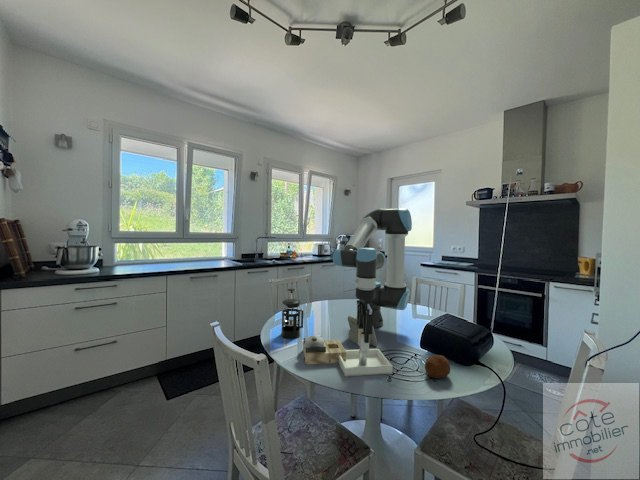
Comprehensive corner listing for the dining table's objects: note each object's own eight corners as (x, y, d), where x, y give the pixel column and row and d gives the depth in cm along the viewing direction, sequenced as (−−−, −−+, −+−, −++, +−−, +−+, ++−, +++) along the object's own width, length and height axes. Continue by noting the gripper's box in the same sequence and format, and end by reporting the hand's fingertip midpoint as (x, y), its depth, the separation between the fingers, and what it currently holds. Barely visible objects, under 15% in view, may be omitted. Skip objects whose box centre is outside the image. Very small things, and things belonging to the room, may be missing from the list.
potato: (418, 376, 96) (419, 356, 96) (431, 366, 104) (432, 347, 104) (442, 386, 90) (444, 365, 90) (454, 374, 98) (455, 355, 98)
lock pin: (365, 361, 105) (366, 331, 104) (367, 365, 102) (368, 334, 101) (357, 361, 104) (359, 331, 104) (360, 365, 101) (361, 334, 101)
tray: (377, 355, 111) (378, 348, 111) (392, 373, 98) (392, 365, 97) (336, 357, 108) (336, 350, 108) (345, 376, 95) (345, 368, 94)
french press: (284, 340, 123) (285, 292, 122) (276, 333, 131) (277, 288, 130) (306, 336, 129) (307, 289, 128) (298, 329, 137) (299, 285, 136)
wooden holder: (338, 348, 117) (339, 331, 116) (345, 362, 105) (346, 343, 105) (302, 350, 114) (303, 333, 114) (305, 364, 102) (306, 345, 102)
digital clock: (378, 346, 120) (379, 323, 119) (362, 350, 116) (363, 326, 116) (359, 333, 135) (360, 313, 134) (343, 336, 131) (344, 315, 130)
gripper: (350, 283, 109) (348, 339, 110) (363, 293, 93) (360, 358, 94) (367, 283, 111) (365, 338, 112) (383, 293, 94) (380, 357, 95)
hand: (363, 347), depth 103 cm, fingers open, 4 cm apart
